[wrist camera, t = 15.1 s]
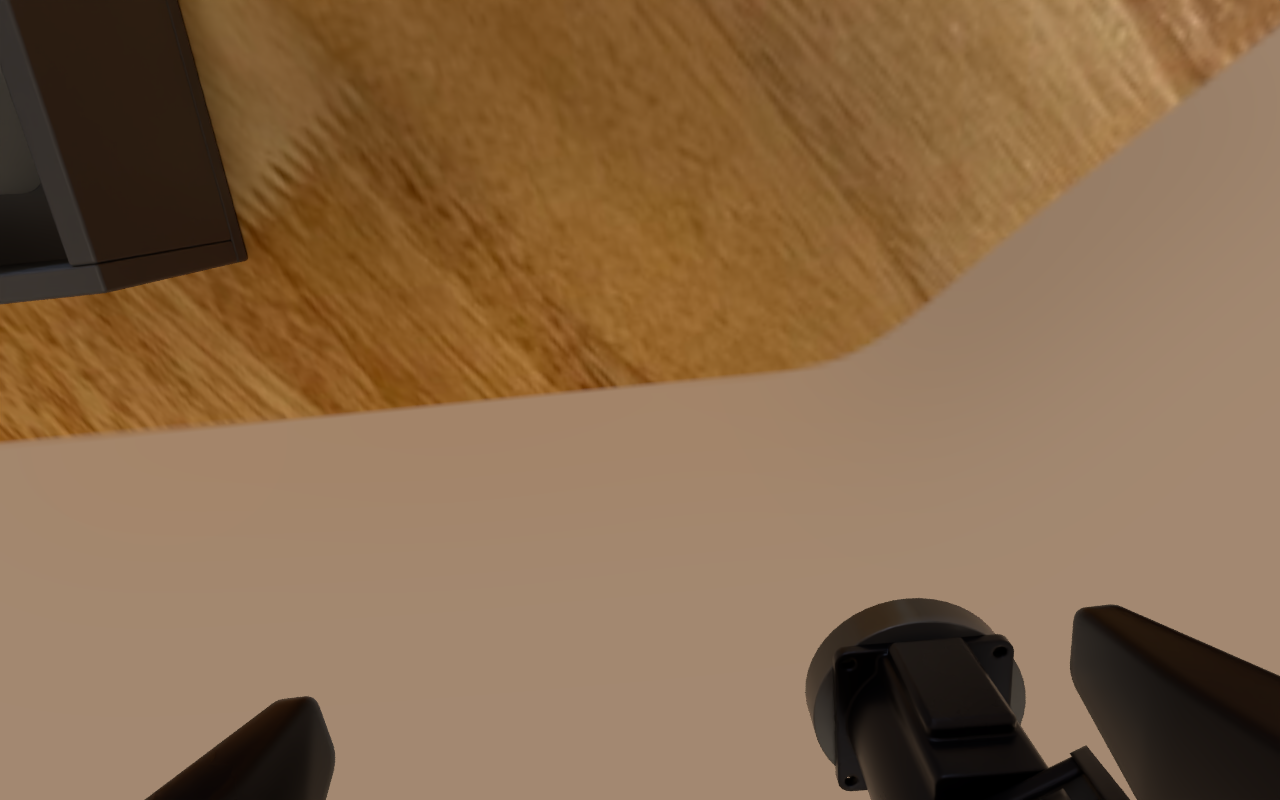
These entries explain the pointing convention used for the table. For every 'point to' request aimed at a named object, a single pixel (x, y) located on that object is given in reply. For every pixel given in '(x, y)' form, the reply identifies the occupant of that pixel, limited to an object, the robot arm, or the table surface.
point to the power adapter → (14, 149)
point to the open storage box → (109, 151)
